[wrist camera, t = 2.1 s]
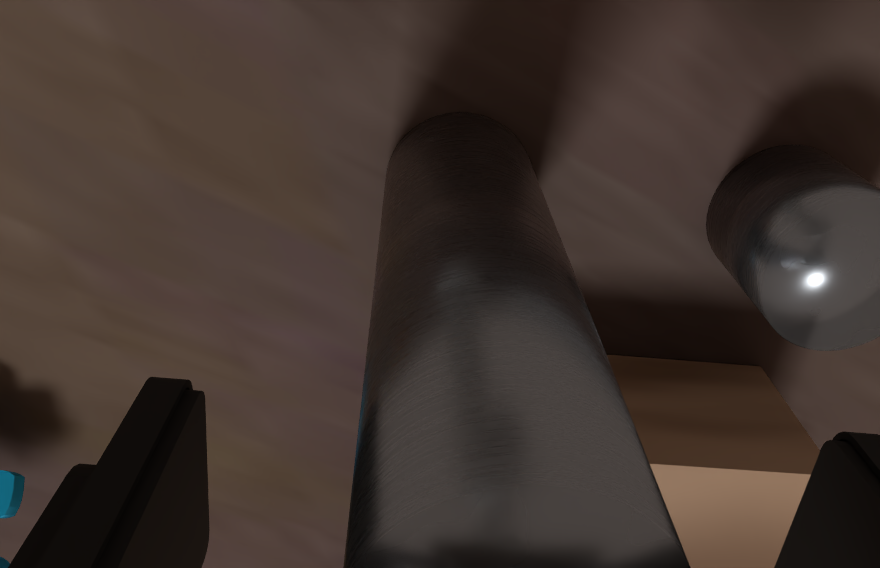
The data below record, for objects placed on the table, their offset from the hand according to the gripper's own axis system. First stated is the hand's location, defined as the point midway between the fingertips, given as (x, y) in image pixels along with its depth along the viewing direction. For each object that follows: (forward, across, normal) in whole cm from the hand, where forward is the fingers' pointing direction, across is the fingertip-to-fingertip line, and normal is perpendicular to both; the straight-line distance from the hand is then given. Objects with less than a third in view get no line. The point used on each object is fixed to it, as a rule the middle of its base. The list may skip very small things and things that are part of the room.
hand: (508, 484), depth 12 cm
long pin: (+11, 0, -1) cm, 11 cm away
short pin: (+11, -9, -1) cm, 14 cm away
